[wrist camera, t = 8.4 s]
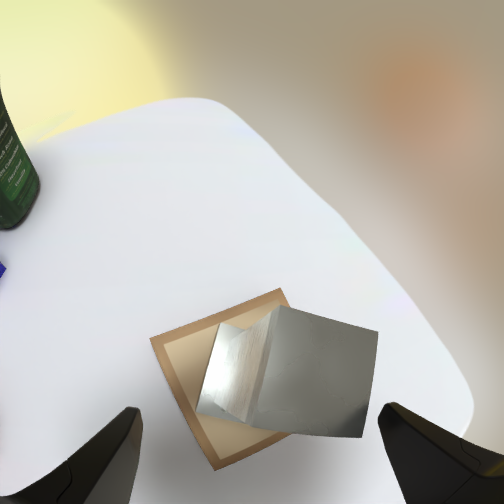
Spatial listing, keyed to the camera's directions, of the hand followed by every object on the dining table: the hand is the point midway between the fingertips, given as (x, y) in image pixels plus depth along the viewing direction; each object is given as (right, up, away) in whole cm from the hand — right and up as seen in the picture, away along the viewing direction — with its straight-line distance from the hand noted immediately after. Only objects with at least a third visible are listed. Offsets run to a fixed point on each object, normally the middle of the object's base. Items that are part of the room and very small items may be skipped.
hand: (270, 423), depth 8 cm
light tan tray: (-1, -4, +13) cm, 14 cm away
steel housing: (-1, -3, +11) cm, 11 cm away
